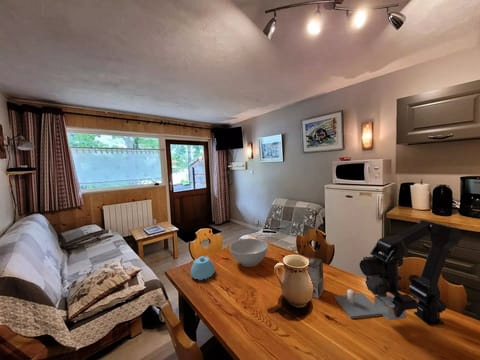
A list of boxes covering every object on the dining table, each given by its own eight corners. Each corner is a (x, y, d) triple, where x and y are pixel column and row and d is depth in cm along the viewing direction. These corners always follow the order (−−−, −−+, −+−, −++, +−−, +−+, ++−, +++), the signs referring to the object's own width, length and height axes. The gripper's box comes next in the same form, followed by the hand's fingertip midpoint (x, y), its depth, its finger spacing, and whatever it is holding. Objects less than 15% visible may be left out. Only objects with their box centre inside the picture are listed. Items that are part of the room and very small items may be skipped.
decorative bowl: (225, 259, 143) (223, 243, 142) (257, 251, 154) (256, 236, 153) (240, 277, 119) (239, 258, 118) (277, 265, 130) (276, 247, 129)
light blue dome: (213, 280, 117) (211, 262, 117) (188, 282, 118) (186, 263, 117) (216, 267, 132) (215, 251, 132) (194, 269, 133) (193, 252, 132)
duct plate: (362, 295, 96) (362, 282, 96) (383, 315, 83) (382, 300, 83) (334, 298, 95) (334, 285, 95) (351, 318, 82) (350, 304, 82)
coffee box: (311, 285, 107) (310, 256, 106) (324, 289, 102) (323, 259, 101) (305, 294, 100) (304, 263, 99) (318, 299, 95) (317, 267, 94)
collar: (390, 305, 81) (390, 294, 81) (406, 318, 74) (405, 305, 74) (374, 307, 81) (374, 295, 81) (388, 320, 74) (388, 307, 74)
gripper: (353, 262, 86) (354, 296, 87) (388, 288, 67) (389, 331, 68) (378, 260, 86) (379, 294, 87) (419, 285, 67) (419, 328, 68)
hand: (389, 310), depth 78 cm, fingers closed on collar, 7 cm apart
